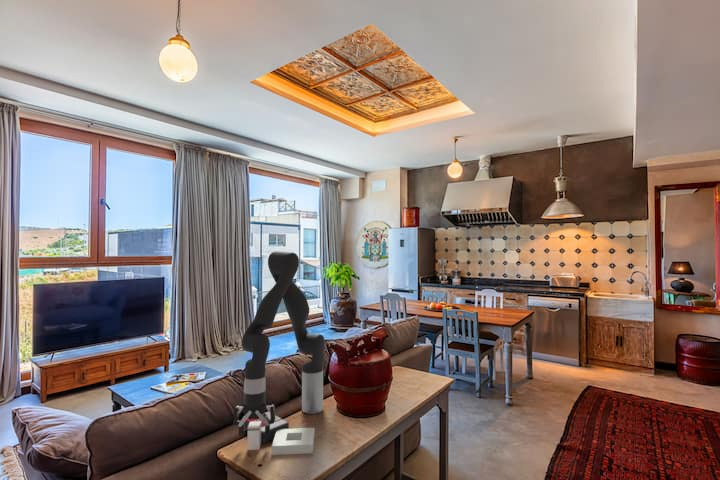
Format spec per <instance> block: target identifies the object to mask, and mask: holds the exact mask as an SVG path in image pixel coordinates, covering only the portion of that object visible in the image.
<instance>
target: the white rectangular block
mask: <svg viewBox="0 0 720 480" xmlns="http://www.w3.org/2000/svg"><path fill="white" fill-rule="evenodd" d="M261 445H262V442H261V421H254V422H250V423H249V425H248V431H247V446H246V448H247V451H258V450H260V448H261Z"/></svg>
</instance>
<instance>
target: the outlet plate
mask: <svg viewBox="0 0 720 480" xmlns="http://www.w3.org/2000/svg"><path fill="white" fill-rule="evenodd" d="M315 432H316V431H315V427H299V428H289V429H280V430H277V431H276V434H275V437H274V439H272V444H271V456H280V455H281V456H282V455H300V454H301V455H303V454H314V448H315V445H314V444H315Z"/></svg>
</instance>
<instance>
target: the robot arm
mask: <svg viewBox="0 0 720 480" xmlns="http://www.w3.org/2000/svg"><path fill="white" fill-rule="evenodd" d="M267 266H268V269H269V272H270V274H271V276H272V278H273V280H274V283H275V284H274V286H273V287H272V288H271V289H270V290H269V291H268V292H267V293H266V294H265V295H264V297H263V298H262V299H261V301H260V303H259V305H258V308H257V310H256V312H255V315H254V319H253V320H252V321H251V323H250V324H249V326H248V328H246V330H245V332H244V334H243V335H242V338H241V347H242V349H243V350H244V351H246V352H248V353H252V357H251V358H250V359H248V360H247V361H246V362H245V366H244V383H243V405H242V406H240V405H236V406H235V407H234V409H233V420H232V421H233V422H232V424H233V426H237V427H238V435H239V437H240V438H244V435H245V433H244V432H245V428H244V422H245V421H246V420H247V419H249V420H252V419H259V418H260V419H261V420H262V421H263V422H264V423H265V436H267V435H268V434H269V432H270V424H273V423H274V422H275V415H276V410H275V409H276V407H275V404H274V403H272V404H271V405H270V404H269V405H267V404H266V401H267V399H266V397H267V395H266V393H267V392H266V391H267V389H266V388H267V387H266V386H267V383H266V381H267V380H266V365H267V364H266V363H267V360H268V357H269V353H270V347H271V346H270V345H271V343H270V339H269V337H268V336H267V335H266V334H265V333H263V332H264V331H265V330H266V329H270V328H271V327H272V326H273V324H274V322H275V321H274V320H275V318H276V316H277V313H278V310H279V307H280V305H281V302H282V301H283V304H284V307H285V309H286V312H287V314H288V317H289V320H290V323H291V326H292V328H293V331H294V332H293V333H294V337H295V340H296V341H295V342H296V345H297V348H298V351H299V352H300V353H301V354H303V355H307V356H308V355H310V356H311V360H308V361H305V362H304V363H302V364H301V411H303V412H302V413H304V412H305V413H304V414H306V413H307V415H315V414H319V413H321V412H323V410H324V363H325V348H326V347H325V346H326V344H325V343H326V341H325V340H326V339H325V337H324V335H323V334H321V333H312V332H309V331H308V330H307V326H306V323H307V320H308V318H309V314H310V306H309V303H308V300H307V296H306V295H305V293H304V292H303V291H302V290H301V288H300V287H299V286H298V285H297V284H296V283H295V282H294V281H293V279H294V278H295V276H296V273H297V271H298V269H299V266H300V258H299V256H298V255H297V253H295V252H292V251H282V250H281V251H280V250H275V251H272V252H271V253H270V254H269V256H268V258H267ZM241 412H242V413H243V414H244V416H243V417H242V418H241V419H240V418H239V417H240V413H241ZM266 412H270V416H271V419H269V418H268V417H267V415H266ZM239 419H240V420H239Z"/></svg>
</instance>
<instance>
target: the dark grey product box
mask: <svg viewBox="0 0 720 480" xmlns="http://www.w3.org/2000/svg"><path fill="white" fill-rule="evenodd" d="M265 413H266V415H267V417H268V418H269V419H271V416H270V412H269V411H265ZM254 421H261V444H265V443H267V442H269V441H271V440H272V441H273V440H274V437H275V434H276V431H277V430H280V429H290V427H289V424H290V423H289V422H288V421H286V420H285V419H283V418H281V417H279V416H278V415H276V414H275V422H274V423H273V424H270V432H269V434H268V435H267V436H265V423H264V422H263V421H262V420H261V419H260V418H259V419H252V420H249V419H248V418H247V420H246V421H245V422H244V423H243V424H244V431H247V432H248V425H249V423H250V422H254Z"/></svg>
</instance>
